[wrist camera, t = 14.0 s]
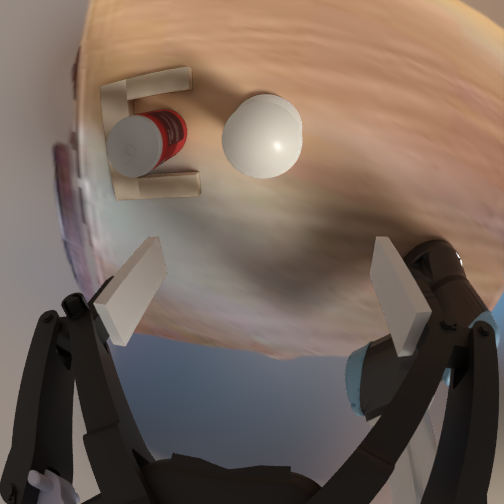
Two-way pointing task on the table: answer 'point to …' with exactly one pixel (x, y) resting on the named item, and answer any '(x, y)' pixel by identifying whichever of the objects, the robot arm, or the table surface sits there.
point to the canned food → (145, 141)
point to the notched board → (121, 106)
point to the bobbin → (263, 136)
